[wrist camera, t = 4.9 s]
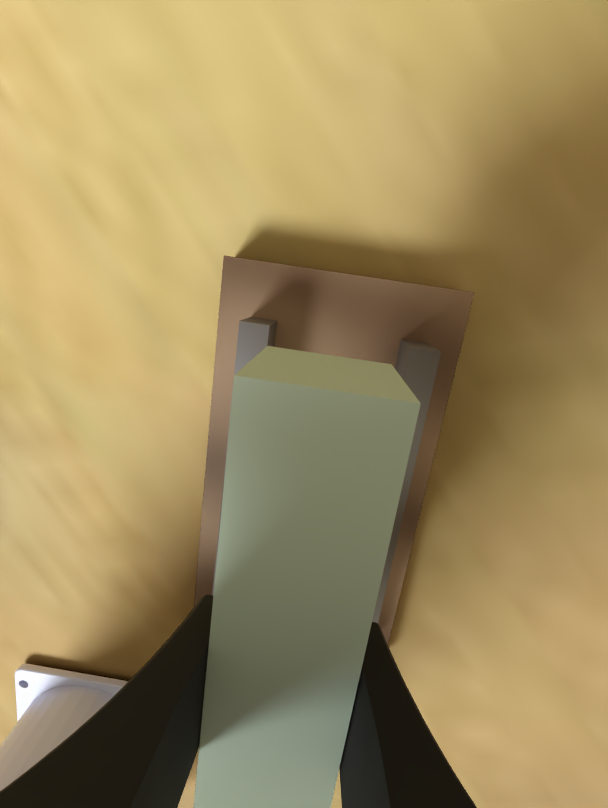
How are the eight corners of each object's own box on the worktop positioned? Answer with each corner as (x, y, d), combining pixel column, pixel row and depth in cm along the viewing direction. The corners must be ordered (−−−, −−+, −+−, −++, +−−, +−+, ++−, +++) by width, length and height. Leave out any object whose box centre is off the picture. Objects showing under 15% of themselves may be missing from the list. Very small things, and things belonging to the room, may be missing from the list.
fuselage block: (309, 780, 14) (301, 937, 11) (219, 764, 14) (183, 916, 11) (391, 364, 10) (420, 403, 7) (267, 346, 10) (234, 375, 7)
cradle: (375, 657, 21) (383, 727, 18) (199, 627, 22) (174, 691, 18) (461, 292, 16) (495, 293, 13) (233, 258, 17) (207, 251, 13)
